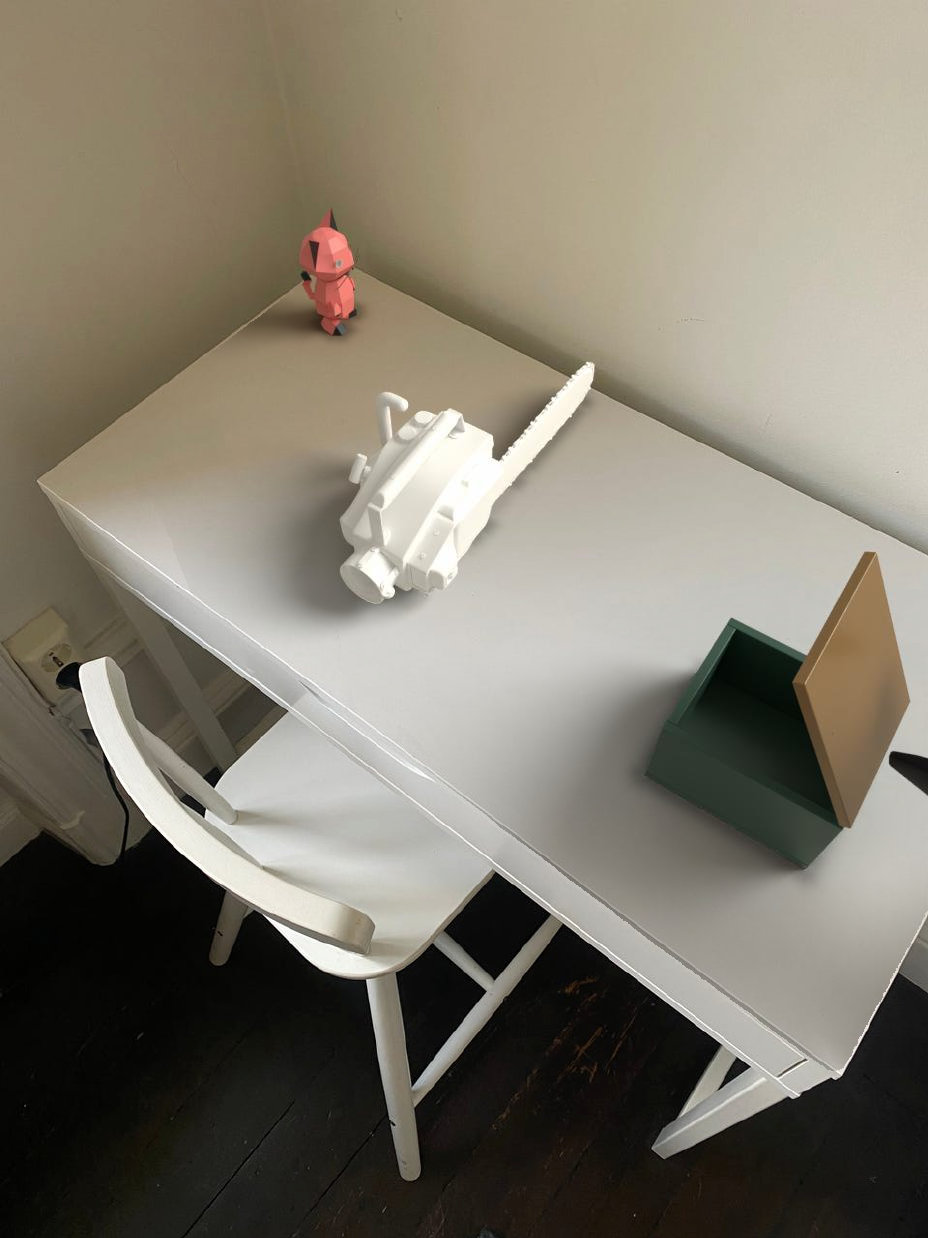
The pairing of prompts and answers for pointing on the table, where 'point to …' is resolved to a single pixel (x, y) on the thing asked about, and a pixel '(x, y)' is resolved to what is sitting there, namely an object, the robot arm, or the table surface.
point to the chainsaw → (434, 492)
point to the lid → (853, 689)
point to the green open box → (748, 747)
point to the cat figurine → (329, 274)
